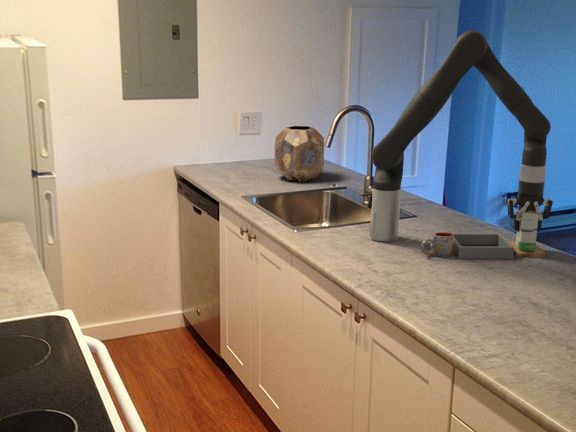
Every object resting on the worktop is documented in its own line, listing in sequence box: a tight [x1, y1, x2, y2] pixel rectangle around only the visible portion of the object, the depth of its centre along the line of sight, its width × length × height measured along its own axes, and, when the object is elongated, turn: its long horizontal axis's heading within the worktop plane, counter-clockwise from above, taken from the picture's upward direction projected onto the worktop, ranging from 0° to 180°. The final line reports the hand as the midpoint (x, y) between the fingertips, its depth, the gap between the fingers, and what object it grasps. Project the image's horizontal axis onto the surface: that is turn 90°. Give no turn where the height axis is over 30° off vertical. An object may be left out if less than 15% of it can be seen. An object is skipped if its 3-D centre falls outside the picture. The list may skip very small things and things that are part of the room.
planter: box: [274, 125, 325, 182], centre depth 322 cm, size 22×24×24 cm
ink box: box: [515, 211, 539, 251], centre depth 220 cm, size 9×5×12 cm, turn 170°
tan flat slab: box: [508, 241, 547, 258], centre depth 222 cm, size 9×12×1 cm
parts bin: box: [452, 233, 514, 259], centre depth 222 cm, size 17×15×4 cm
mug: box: [420, 232, 455, 258], centre depth 217 cm, size 12×7×7 cm, turn 114°
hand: (526, 230), depth 220 cm, fingers open, 5 cm apart
